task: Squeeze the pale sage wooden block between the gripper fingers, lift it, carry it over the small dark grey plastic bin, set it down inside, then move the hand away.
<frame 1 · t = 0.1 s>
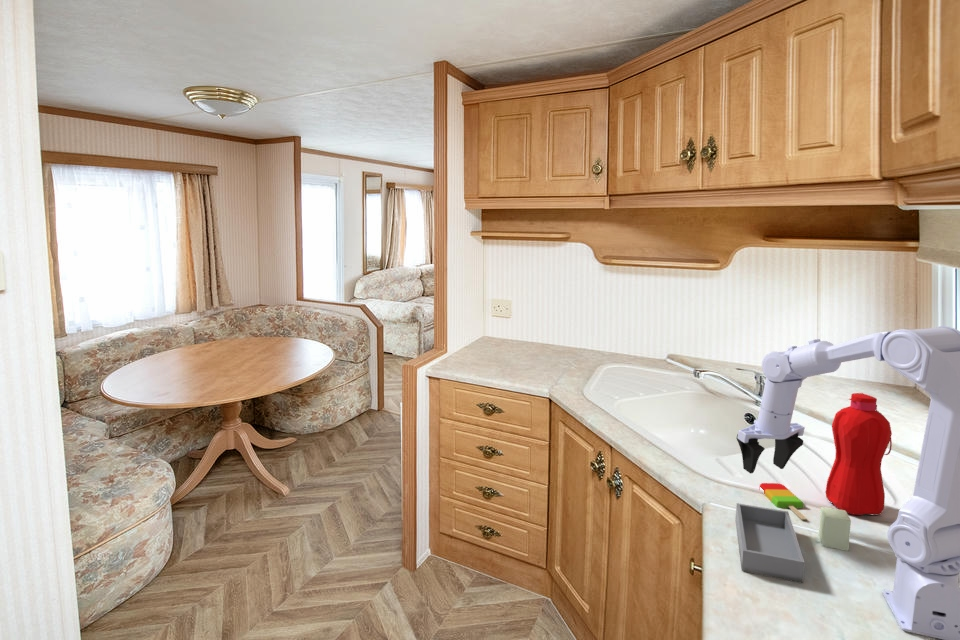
hand: (763, 468, 108), 10 cm above the worktop, tool pointing down, fingers open, 7 cm apart
bin: (765, 548, 98), on the worktop
sage block: (832, 542, 100), on the worktop
popsicle: (785, 506, 115), on the worktop
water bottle: (857, 507, 113), on the worktop
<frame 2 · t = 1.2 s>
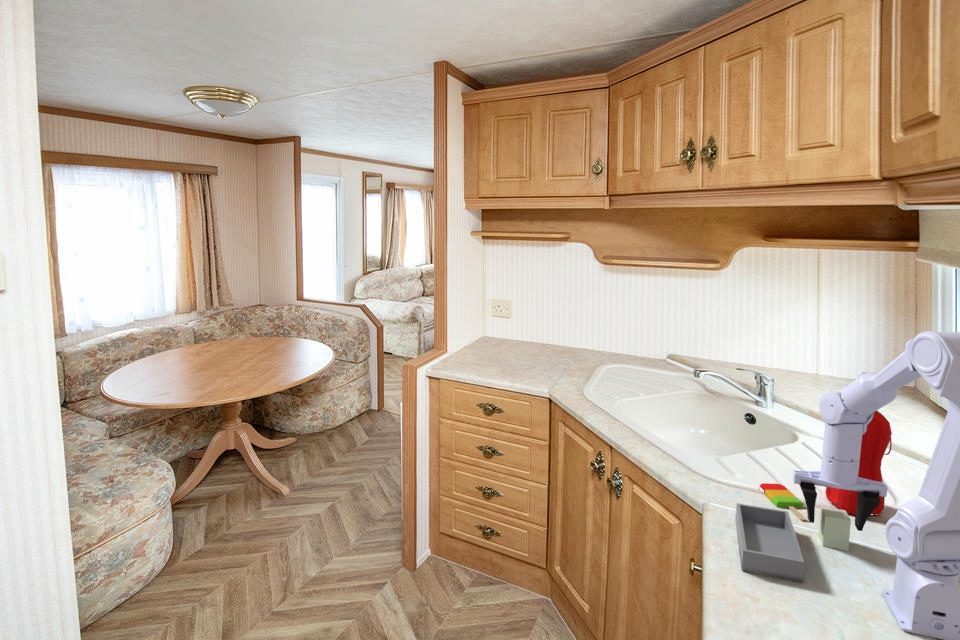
hand: (834, 524, 99), 4 cm above the worktop, tool pointing down, fingers open, 7 cm apart
nothing on the worktop moved.
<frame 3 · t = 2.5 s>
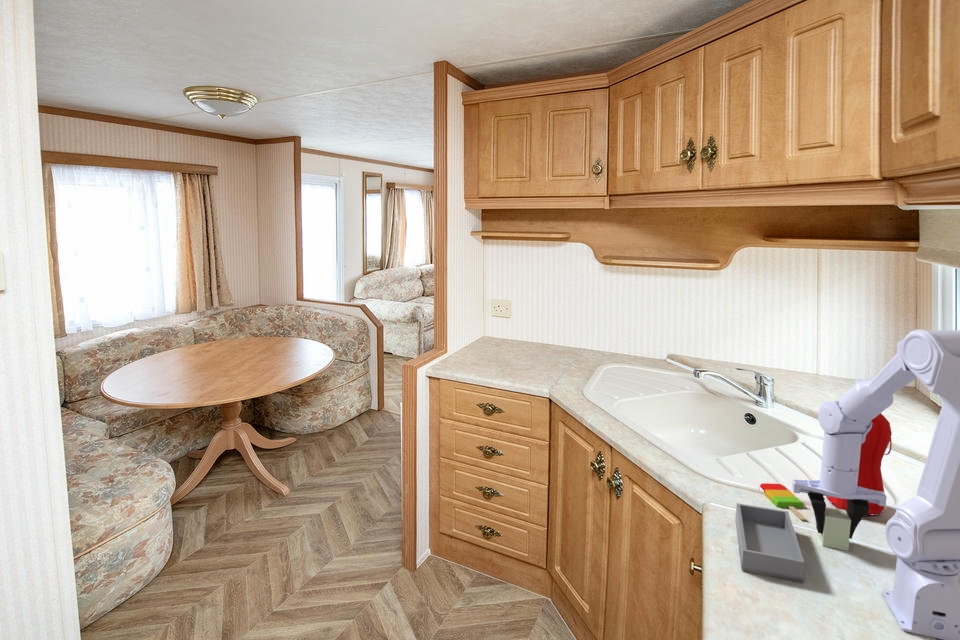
hand: (833, 533, 100), 2 cm above the worktop, tool pointing down, fingers closed on sage block, 4 cm apart
sage block: (832, 542, 100), on the worktop, touching gripper
everything else where it was.
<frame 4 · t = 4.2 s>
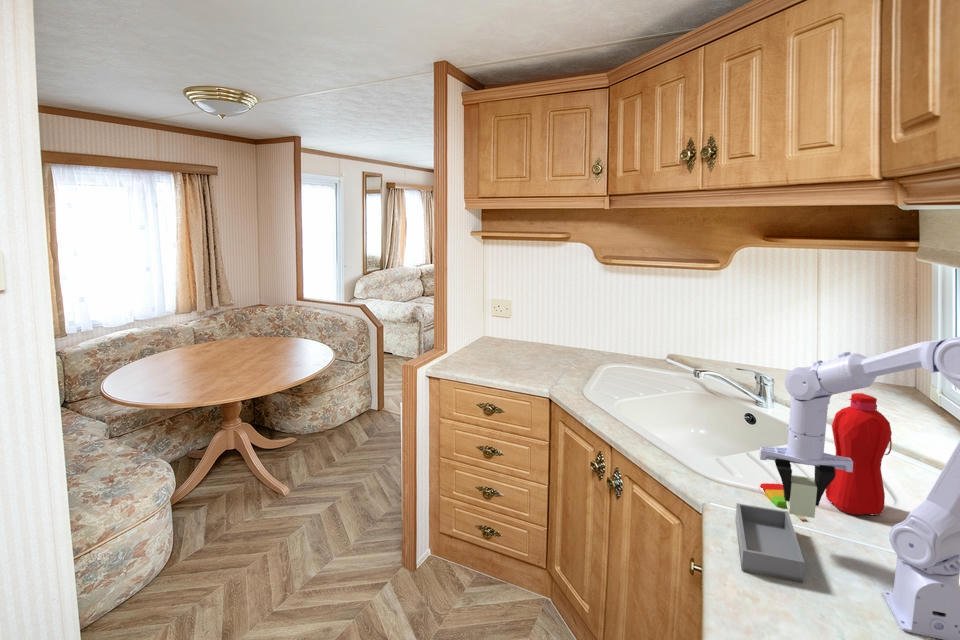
hand: (800, 501, 98), 9 cm above the worktop, tool pointing down, fingers closed on sage block, 4 cm apart
sage block: (800, 510, 98), point 7 cm above the worktop, touching gripper
everything else where it was.
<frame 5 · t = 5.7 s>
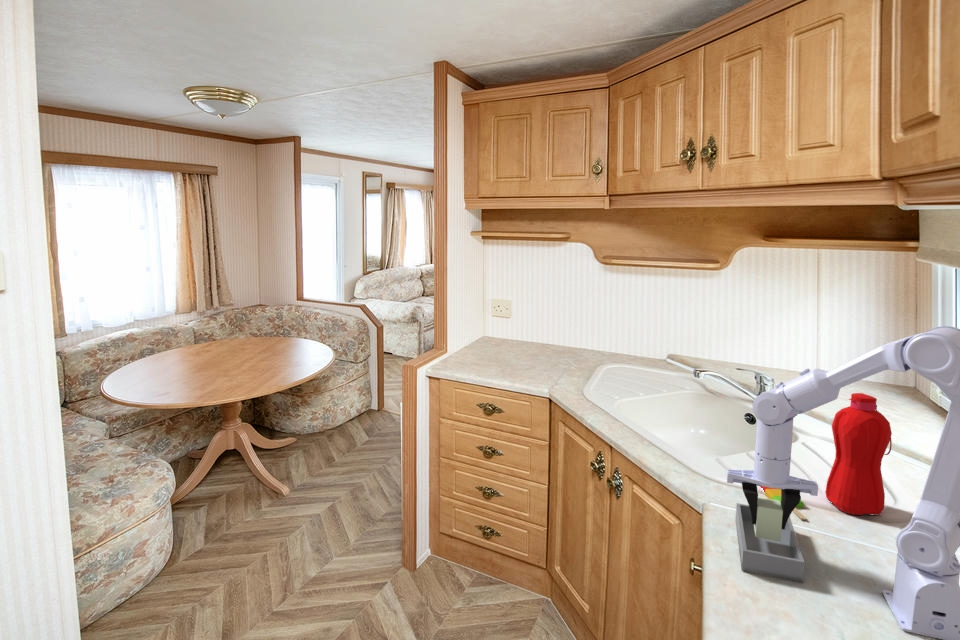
hand: (767, 524, 97), 5 cm above the worktop, tool pointing down, fingers closed on sage block, 4 cm apart
sage block: (766, 533, 98), point 3 cm above the worktop, touching gripper
everything else where it was.
when the fingers open (5 cm above the worktop, at t = 6.2 s): sage block drops 2 cm, resting on bin.
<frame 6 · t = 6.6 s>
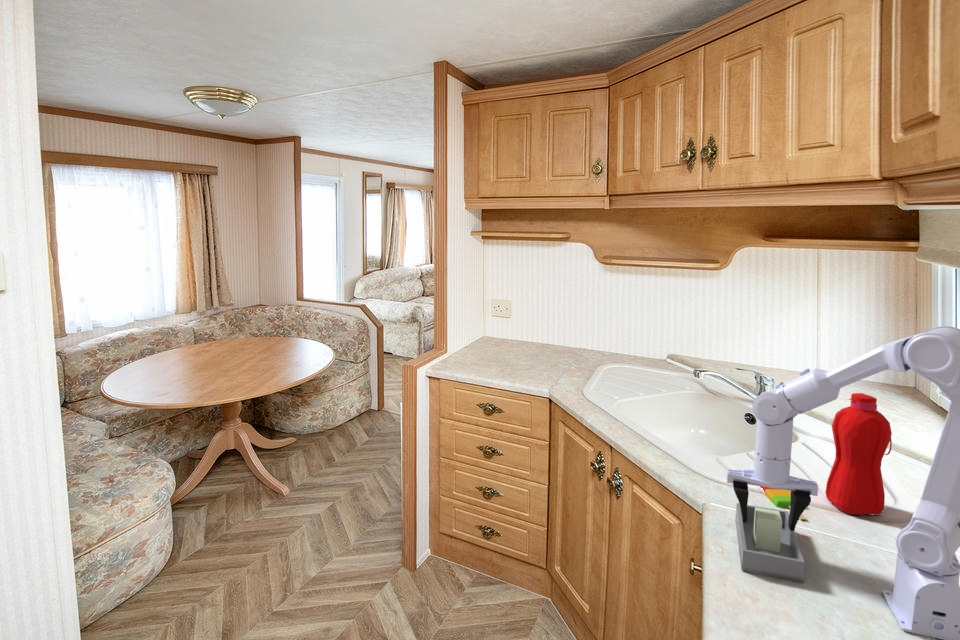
hand: (767, 524, 97), 5 cm above the worktop, tool pointing down, fingers open, 7 cm apart
sage block: (766, 544, 98), point 1 cm above the worktop, touching bin
everything else where it was.
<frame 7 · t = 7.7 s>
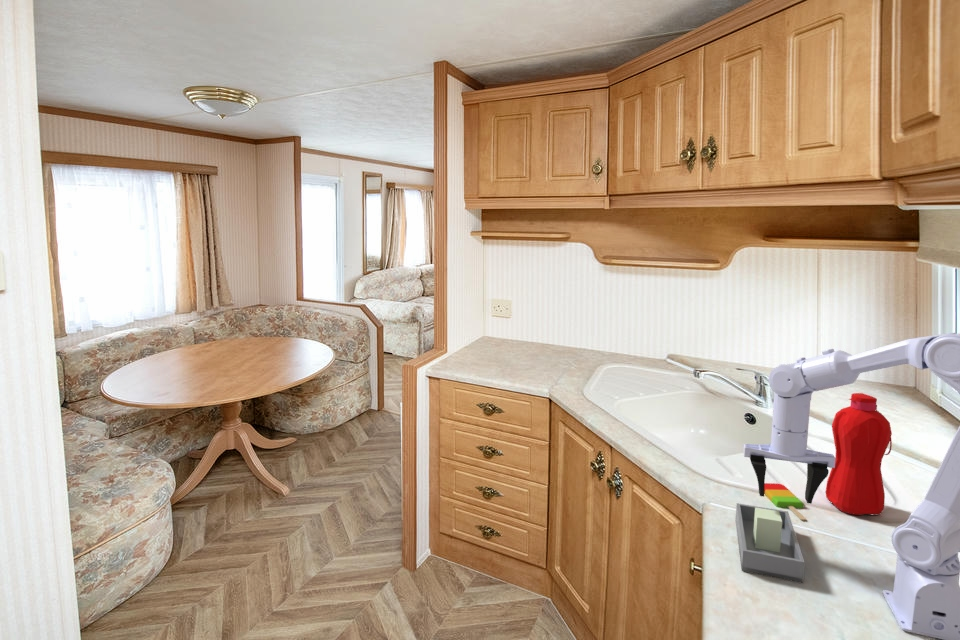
hand: (784, 497, 98), 9 cm above the worktop, tool pointing down, fingers open, 7 cm apart
nothing on the worktop moved.
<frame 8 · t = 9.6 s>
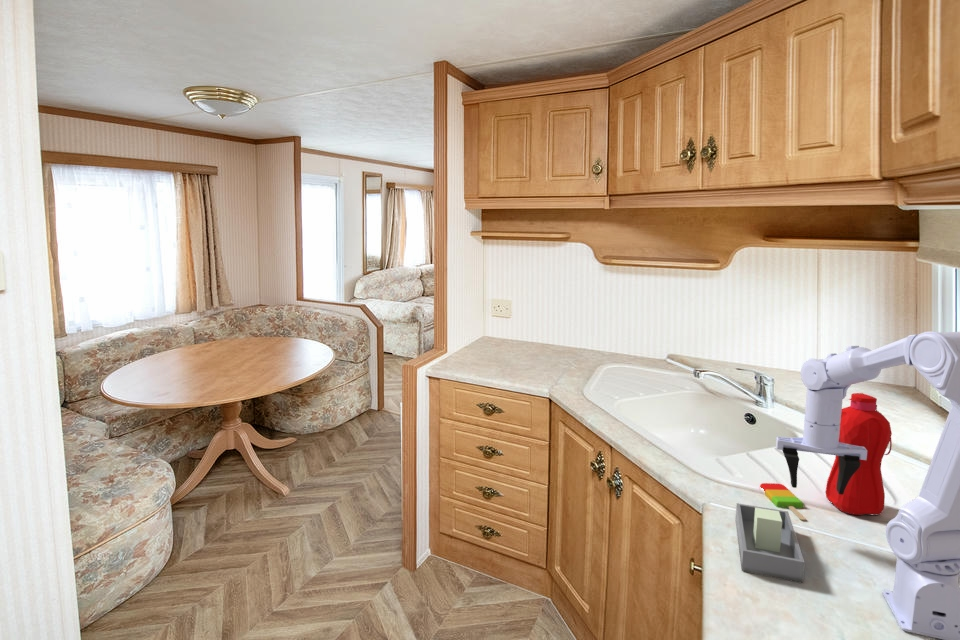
hand: (816, 488, 102), 9 cm above the worktop, tool pointing down, fingers open, 7 cm apart
nothing on the worktop moved.
at the end: sage block inside the target area on the bin (0.1 cm from its centre), point 0.8 cm above the bin's base; the gripper is holding nothing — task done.
